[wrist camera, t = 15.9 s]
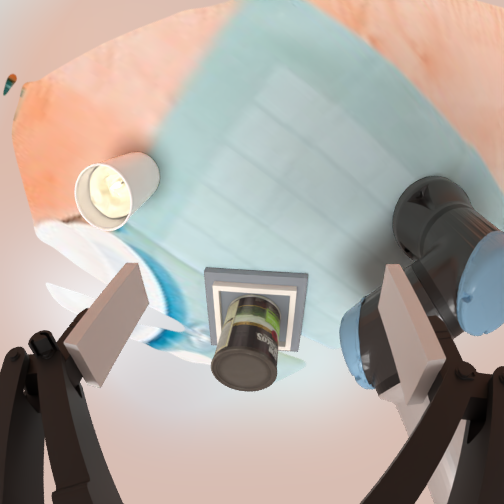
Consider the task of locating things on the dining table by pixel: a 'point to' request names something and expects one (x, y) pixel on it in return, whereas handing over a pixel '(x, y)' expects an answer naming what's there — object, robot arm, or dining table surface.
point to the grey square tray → (264, 284)
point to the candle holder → (115, 189)
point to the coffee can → (248, 344)
